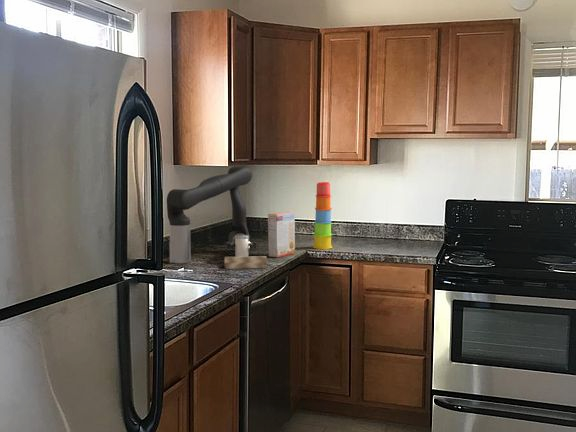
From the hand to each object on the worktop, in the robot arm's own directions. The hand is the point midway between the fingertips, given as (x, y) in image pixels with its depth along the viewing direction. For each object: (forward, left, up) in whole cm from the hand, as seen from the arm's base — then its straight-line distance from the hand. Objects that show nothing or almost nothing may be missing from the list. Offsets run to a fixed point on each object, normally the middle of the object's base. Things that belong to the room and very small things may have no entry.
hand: (242, 247), depth 282 cm
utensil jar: (0, +2, -7) cm, 7 cm away
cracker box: (+20, +18, -7) cm, 28 cm away
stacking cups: (+44, +40, -7) cm, 60 cm away
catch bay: (+1, -9, -7) cm, 12 cm away
